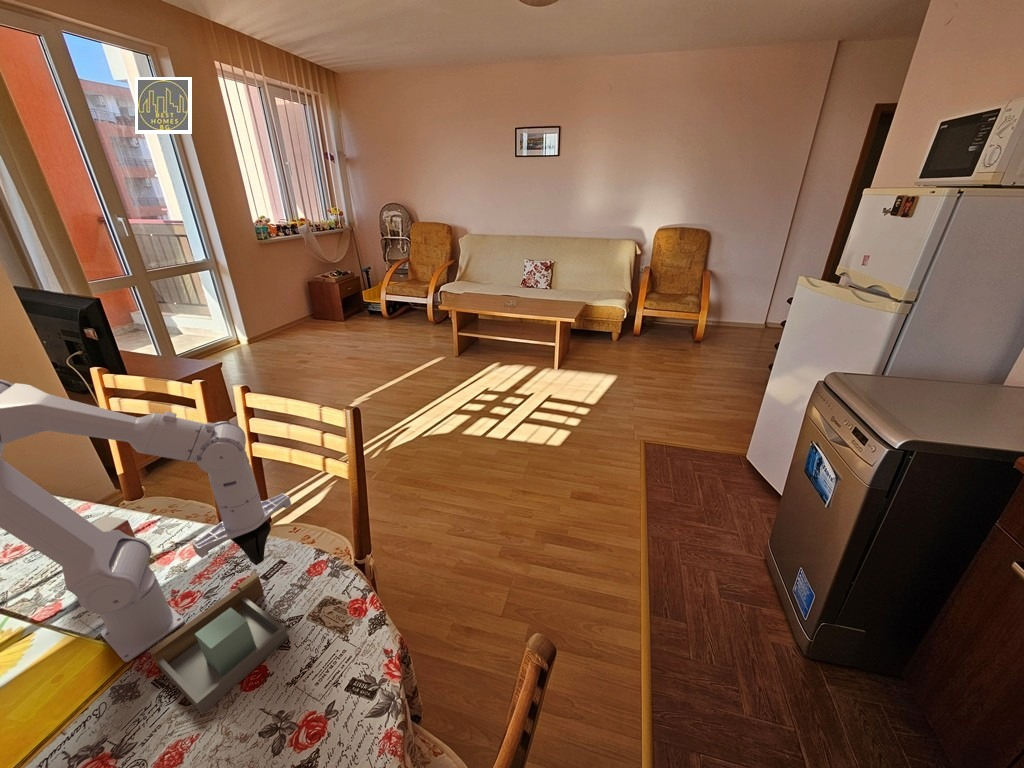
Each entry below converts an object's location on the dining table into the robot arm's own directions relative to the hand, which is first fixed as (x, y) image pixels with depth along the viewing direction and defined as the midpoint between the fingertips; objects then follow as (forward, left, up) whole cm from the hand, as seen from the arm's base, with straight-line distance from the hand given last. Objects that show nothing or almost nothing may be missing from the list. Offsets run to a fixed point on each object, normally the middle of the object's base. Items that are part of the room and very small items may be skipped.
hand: (257, 560), depth 73 cm
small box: (-27, -12, -7) cm, 30 cm away
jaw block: (+8, -10, -6) cm, 14 cm away
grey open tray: (+7, -10, -7) cm, 14 cm away
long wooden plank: (0, -8, -7) cm, 11 cm away
